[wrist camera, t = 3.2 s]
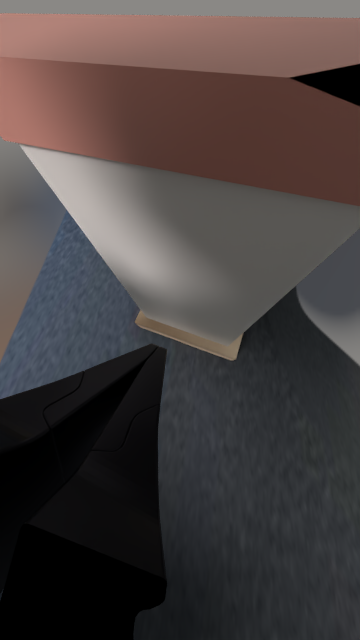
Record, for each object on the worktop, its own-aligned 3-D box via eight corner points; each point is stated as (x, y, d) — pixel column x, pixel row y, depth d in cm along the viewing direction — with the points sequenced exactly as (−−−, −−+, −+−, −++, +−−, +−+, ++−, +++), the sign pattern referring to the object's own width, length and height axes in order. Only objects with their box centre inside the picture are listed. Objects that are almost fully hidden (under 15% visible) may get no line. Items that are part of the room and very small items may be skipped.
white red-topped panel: (229, 349, 15) (547, 97, 2) (143, 318, 16) (-66, 51, 3) (235, 330, 15) (512, 19, 2) (151, 302, 17) (0, 12, 4)
